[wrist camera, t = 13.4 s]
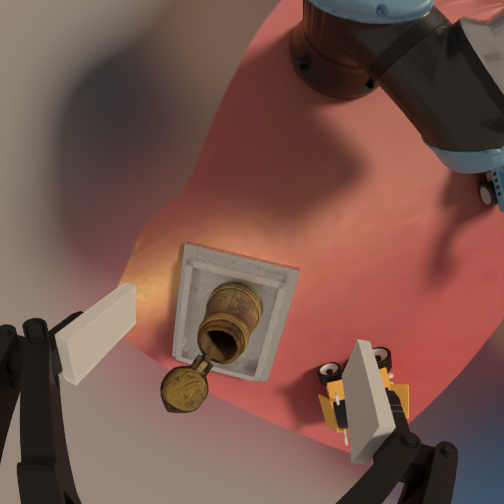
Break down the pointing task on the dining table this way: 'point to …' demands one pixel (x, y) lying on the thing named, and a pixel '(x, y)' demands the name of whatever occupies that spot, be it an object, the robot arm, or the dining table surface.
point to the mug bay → (238, 271)
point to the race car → (334, 386)
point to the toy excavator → (493, 188)
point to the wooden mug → (213, 345)
